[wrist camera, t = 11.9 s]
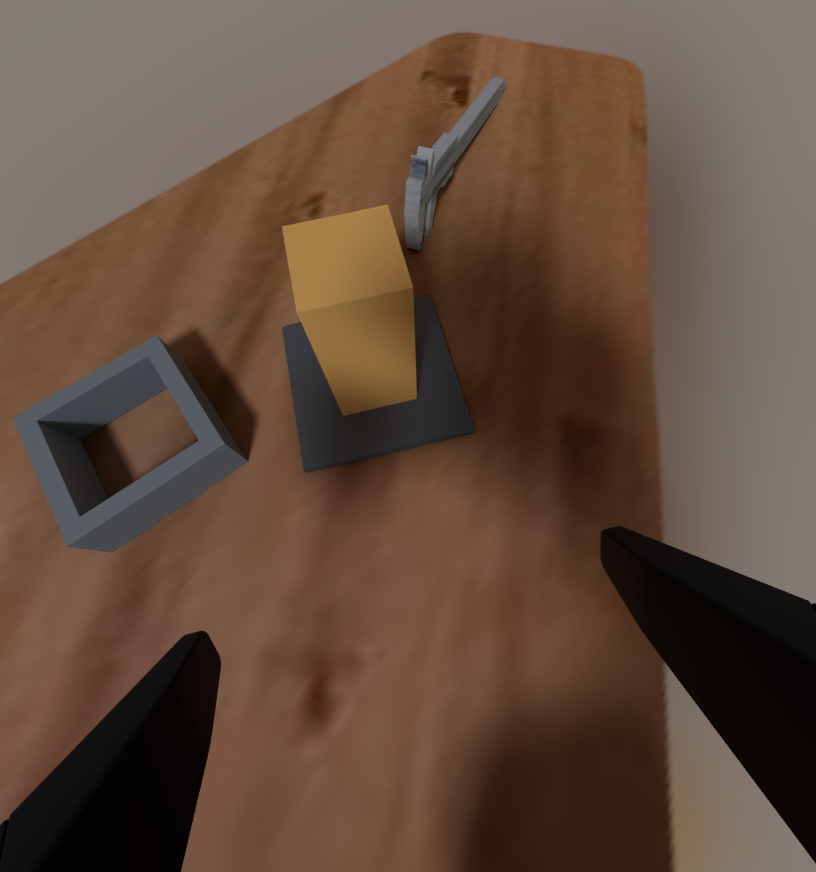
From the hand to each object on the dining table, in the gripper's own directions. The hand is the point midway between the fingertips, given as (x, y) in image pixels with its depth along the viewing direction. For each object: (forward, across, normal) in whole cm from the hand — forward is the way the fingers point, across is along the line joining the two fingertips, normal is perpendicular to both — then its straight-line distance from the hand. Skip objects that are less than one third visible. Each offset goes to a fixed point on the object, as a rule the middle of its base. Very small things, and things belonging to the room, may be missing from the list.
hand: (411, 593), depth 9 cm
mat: (+18, 0, 0) cm, 18 cm away
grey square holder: (+17, +14, +1) cm, 22 cm away
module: (+18, 0, -1) cm, 18 cm away
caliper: (+31, -11, -12) cm, 35 cm away
